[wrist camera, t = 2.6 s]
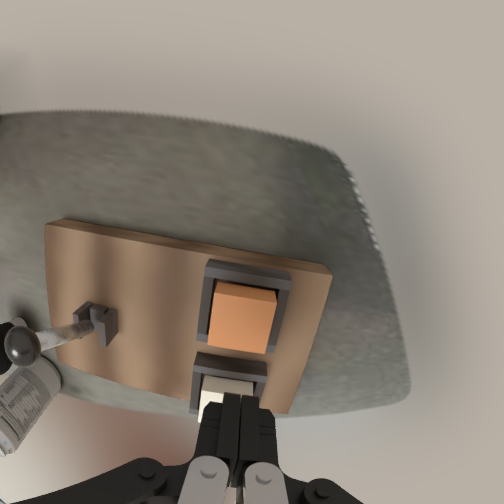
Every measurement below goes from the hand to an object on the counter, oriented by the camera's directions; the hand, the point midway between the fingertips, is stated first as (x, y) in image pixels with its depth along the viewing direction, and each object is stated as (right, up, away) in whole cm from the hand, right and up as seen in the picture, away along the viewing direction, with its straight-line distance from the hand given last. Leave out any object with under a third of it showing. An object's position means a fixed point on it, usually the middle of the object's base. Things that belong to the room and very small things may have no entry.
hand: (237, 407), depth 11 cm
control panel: (-7, +1, +15) cm, 16 cm away
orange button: (0, +2, +9) cm, 10 cm away
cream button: (-2, -6, +11) cm, 13 cm away
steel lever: (-13, +1, +10) cm, 16 cm away
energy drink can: (-27, -9, +17) cm, 33 cm away
